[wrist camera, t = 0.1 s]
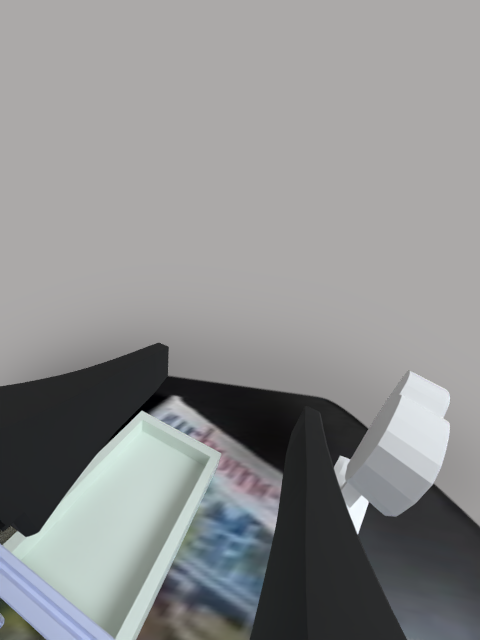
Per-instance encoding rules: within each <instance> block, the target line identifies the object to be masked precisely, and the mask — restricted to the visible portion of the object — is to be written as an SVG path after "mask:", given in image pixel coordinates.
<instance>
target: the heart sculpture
mask: <svg viewBox="0 0 480 640" xmlns="http://www.w3.org/2000/svg"><path fill="white" fill-rule="evenodd" d="M449 402H450V395H449V393H448V391H447V390H446V389H444V388H442V387H440V386H438V385H436V384H434V383H432V382H431V381H429V380H426V379H425V378H423V377H421V376H419V375H417V374H415V373H413V372H411V371H408V372H407V373H406V374H405V375H404V377H403V378H402V380H401V381H400V382H399V383H398V385H397V386H396V388H395V389H394V390H393V392H392V393H391V395H390V396H389V398H388V399H387V401H386V402H385V404H384V405H383V407H382V408H381V410H380V412H379V413H378V415H377V416H376V418H375V420H374V421H373V423H372V425H371V426H370V428H369V429H368V431H367V433H366V434H365V436H364V438H363V439H362V441H361V443H360V444H359V446H358V448H357V450H356V451H355V453H354V455H353V456H352V458H351V460H350V459H348V458H345V457H342V456H340V458H339V459H338V461H337V463H336V465H335V466H334V470H335V474H336V477H337V480H338V483H339V486H340V489H341V492H342V495H343V498H344V500H345V503H346V506H347V509H348V511H349V514H350V516H351V519H352V521H353V524H354V526H355V529H356V532H357V534H358V532H359V529H360V527H361V524H362V521H363V518H364V515H365V512H366V509H367V506H368V503H369V502H370V503H371V504H372V505H374V506H375V507H376V508H377V509H378V510H379V511H380V512H381V513H383V514H384V515H386V516H398V515H399V514H401V513H402V512H404V511H405V510H407V509H408V508H409V507H411V506H412V505H414V504H415V503H416V502H417V501H418V500H419V499H420V498H421V497H422V496H423V495H424V493H425V492H426V491H427V490H428V489H429V488H430V487H431V486H432V485H433V483H434V480H435V479H436V477H437V475H438V472H439V470H440V468H441V466H442V462H443V459H444V455H445V452H446V449H447V444H448V439H449V434H450V433H449V432H450V424H449V422H448V421H446V420H445V419H443V417H444V415H445V413H446V411H447V408H448V406H449Z"/></svg>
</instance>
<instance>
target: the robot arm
mask: <svg viewBox="0 0 480 640" xmlns="http://www.w3.org/2000/svg"><path fill="white" fill-rule="evenodd" d="M168 349H169V347H168V346H165V345H163V344H161V343H156V344H154V345H151V346H148V347H146V348H143V349H140V350H138V351H135V352H133V353H130V354H127V355H124V356H121V357H119V358H116V359H113V360H110V361H107V362H104V363H101V364H98V365H95V366H92V367H89V368H86V369H82V370H78V371H75V372H71V373H67V374H63V375H59V376H55V377H50V378H45V379H40V380H35V381H30V382H25V383H20V384H14V385H7V386H0V529H1V530H2V531H5V530H6V529H7V528H8V527H9V526H10V525H11V526H12V527H13V528H15V529H16V530H17V531H18V532H20V533H21V534H22V535H24V536H25V537H29V536H32V535H35V534H36V533H38V532H40V530H41V529H42V527H43V526H44V524H45V523H46V521H47V520H48V519H49V517H50V516H51V514H52V513H53V512H54V510H55V509H56V507H57V506H58V505H59V503H60V502H61V500H62V499H63V498H64V496H65V495H66V494H67V492H68V491H69V490H70V488H71V487H72V486H73V484H74V483H75V482H76V480H77V479H78V478H79V476H80V475H81V474H82V472H83V471H84V470H85V469H86V467H87V466H88V465H89V464H90V462H91V461H92V460H93V459H94V457H95V456H96V455H97V454H98V452H99V451H100V450H101V449H102V447H103V446H104V445H105V444H106V443H107V442H108V440H109V439H110V438H111V437H112V436H113V434H114V433H115V432H116V431H117V430H118V429H119V428H120V427H121V426H122V425H123V424H124V423H125V422H126V421H127V420H128V419H129V418H130V417H131V416H132V415H133V414H134V413H135V412H136V411H137V410H138V409H139V408H140V407H141V406H142V405H143V404H144V403H145V402H146V401H147V400H148V399H149V398H150V397H151V396H152V394H153V393H154V392H155V391H156V390H157V389H158V388H159V386H160V385H161V384H162V382H163V381H164V380H165V378H166V377H167V376H168ZM0 598H1V599H3V600H4V601H5V602H6V603H7V604H8V605H9V606H10V607H11V608H12V609H14V610H15V611H16V612H17V613H18V614H19V615H20V616H21V617H22V618H23V619H24V620H26V621H27V622H28V623H29V624H30V625H31V626H32V627H33V628H34V629H35V630H37V631H38V632H39V633H40V634H41V635H42V636H43V637H44V638H45V639H46V640H116V639H114V638H113V637H112V636H111V635H109V634H108V633H107V632H106V631H105V630H103V629H102V628H101V627H100V626H99V625H97V624H96V623H95V622H94V621H93V620H91V619H90V618H89V617H88V616H87V615H85V614H84V613H83V612H82V611H81V610H79V609H78V608H77V607H76V606H75V605H73V604H72V603H71V602H70V601H69V600H67V599H66V598H65V597H64V596H63V595H61V594H60V593H59V592H58V591H57V590H55V589H54V588H53V587H52V586H51V585H49V584H48V583H47V582H46V581H45V580H43V579H42V578H41V577H40V576H39V575H37V574H36V573H35V572H34V571H33V570H31V569H30V568H29V567H28V566H27V565H25V564H24V563H23V562H22V561H21V560H19V559H18V558H17V557H16V556H15V555H13V554H12V553H11V552H10V551H9V550H7V549H6V548H5V547H4V546H3V545H1V544H0ZM4 620H5V619H4V618H3V616H2V615H1V614H0V628H1V627H2V625H3V624H4ZM250 640H407V639H406V637H405V635H404V633H403V631H402V629H401V627H400V625H399V623H398V621H397V619H396V617H395V615H394V613H393V611H392V609H391V607H390V605H389V602H388V600H387V598H386V596H385V594H384V592H383V590H382V587H381V585H380V583H379V581H378V579H377V577H376V575H375V572H374V570H373V568H372V566H371V564H370V562H369V560H368V557H367V555H366V553H365V550H364V548H363V546H362V543H361V541H360V539H359V536H358V534H357V532H356V529H355V526H354V524H353V521H352V519H351V516H350V514H349V511H348V509H347V506H346V503H345V500H344V498H343V495H342V492H341V489H340V486H339V483H338V480H337V477H336V474H335V470H334V467H333V464H332V460H331V457H330V453H329V450H328V446H327V442H326V438H325V434H324V429H323V424H322V419H321V414H320V412H319V411H317V410H315V409H312V408H310V407H308V406H305V407H304V409H303V411H302V413H301V415H300V417H299V419H298V421H297V423H296V425H295V427H294V429H293V431H292V433H291V437H290V441H289V445H288V449H287V453H286V458H285V466H284V473H283V480H282V488H281V495H280V503H279V510H278V517H277V523H276V528H275V533H274V537H273V542H272V547H271V551H270V556H269V560H268V565H267V569H266V573H265V578H264V582H263V587H262V591H261V595H260V599H259V604H258V608H257V612H256V616H255V620H254V625H253V629H252V633H251V637H250Z"/></svg>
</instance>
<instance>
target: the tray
mask: <svg viewBox="0 0 480 640" xmlns="http://www.w3.org/2000/svg"><path fill="white" fill-rule="evenodd" d="M220 457H221V453H219V452H218V451H216V450H214V449H212V448H210V447H208V446H206V445H205V444H203V443H201V442H199V441H197V440H195V439H193V438H192V437H190V436H188V435H186V434H184V433H182V432H180V431H179V430H177V429H175V428H173V427H171V426H169V425H167V424H166V423H164V422H162V421H160V420H158V419H156V418H154V417H153V416H151V415H149V414H147V413H145V412H143V411H141V412H140V413H139V414H138V415H137V416H136V417H135V418H134V419H133V420H132V421H131V422H130V423H129V424H128V425H127V426H126V427H125V428H124V429H123V430H122V431H120V432H119V433H118V434H117V435H116V436H115V437H114V438H113V439H112V440H111V441H110V442H109V443H108V444H107V445H106V446H105V447H104V448H103V449H102V450H101V451H100V452H99V453H98V454H97V455H96V456H95V457H94V459H93V460H92V461H91V462H90V464H89V465H88V466H87V467H86V469H85V470H84V471H83V472H82V474H81V475H80V476H79V478H78V479H77V480H76V482H75V483H74V484H73V486H72V487H71V488H70V490H69V491H68V492H67V494H66V495H65V496H64V498H63V499H62V500H61V502H60V503H59V505H58V506H57V507H56V509H55V510H54V512H53V513H52V514H51V516H50V517H49V519H48V520H47V521H46V523H45V524H44V526H43V527H42V529H41V530H40V532H38V533H36V534H35V535H32V536H29V537H25V536H24V535H22V534H21V533H20V532H18V531H17V532H16V533H15V534H14V535H13V536H12V537H11V538H10V539H9V540H7V541H6V542H5V543H4V544H3V546H4V547H5V548H6V549H7V550H9V551H10V552H11V553H12V554H13V555H15V556H16V557H17V558H18V559H19V560H21V561H22V562H23V563H24V564H25V565H27V566H28V567H29V568H30V569H31V570H33V571H34V572H35V573H36V574H37V575H39V576H40V577H41V578H42V579H43V580H45V581H46V582H47V583H48V584H49V585H51V586H52V587H53V588H54V589H55V590H57V591H58V592H59V593H60V594H61V595H63V596H64V597H65V598H66V599H67V600H69V601H70V602H71V603H72V604H73V605H75V606H76V607H77V608H78V609H79V610H81V611H82V612H83V613H84V614H85V615H87V616H88V617H89V618H90V619H91V620H93V621H94V622H95V623H96V624H97V625H99V626H100V627H101V628H102V629H103V630H105V631H106V632H107V633H108V634H109V635H111V636H112V637H113V638H114V639H116V640H136V639H137V637H138V634H139V632H140V630H141V628H142V626H143V624H144V622H145V620H146V617H147V615H148V613H149V611H150V609H151V607H152V605H153V603H154V600H155V598H156V596H157V594H158V592H159V590H160V588H161V586H162V584H163V581H164V579H165V577H166V575H167V573H168V571H169V569H170V567H171V564H172V562H173V560H174V558H175V556H176V554H177V552H178V550H179V548H180V545H181V543H182V541H183V539H184V537H185V535H186V533H187V531H188V528H189V526H190V524H191V522H192V520H193V518H194V516H195V514H196V511H197V509H198V507H199V505H200V503H201V501H202V499H203V497H204V495H205V492H206V490H207V488H208V486H209V484H210V482H211V480H212V478H213V475H214V473H215V471H216V469H217V467H218V464H219V460H220Z"/></svg>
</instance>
